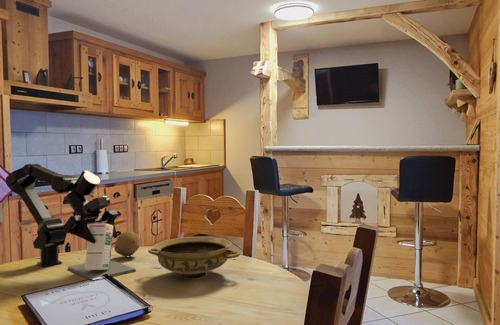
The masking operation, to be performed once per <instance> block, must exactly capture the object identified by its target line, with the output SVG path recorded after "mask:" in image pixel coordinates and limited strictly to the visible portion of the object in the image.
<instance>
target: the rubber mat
mask: <svg viewBox="0 0 500 325" xmlns="http://www.w3.org/2000/svg"><path fill="white" fill-rule="evenodd" d="M67 269H68V271H69V270H70V271H72V272H73V273H76V274H78V275H80V276H82V277H84V278H86V279H88V280H90V278H94V277H98V276H101V275H104V274H108V275H110V276H112V277H116V276H121V275H125V274H130V273H135V272H136V271H137V270H136V268H134V267H131V266H129V265H126V264H123V263H121V262H117V261H115V260H113V259H110V269H109V270H88V269H85V262H84V263H80V264H75V265H69V266H67ZM112 277H111V278H112Z"/></svg>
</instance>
